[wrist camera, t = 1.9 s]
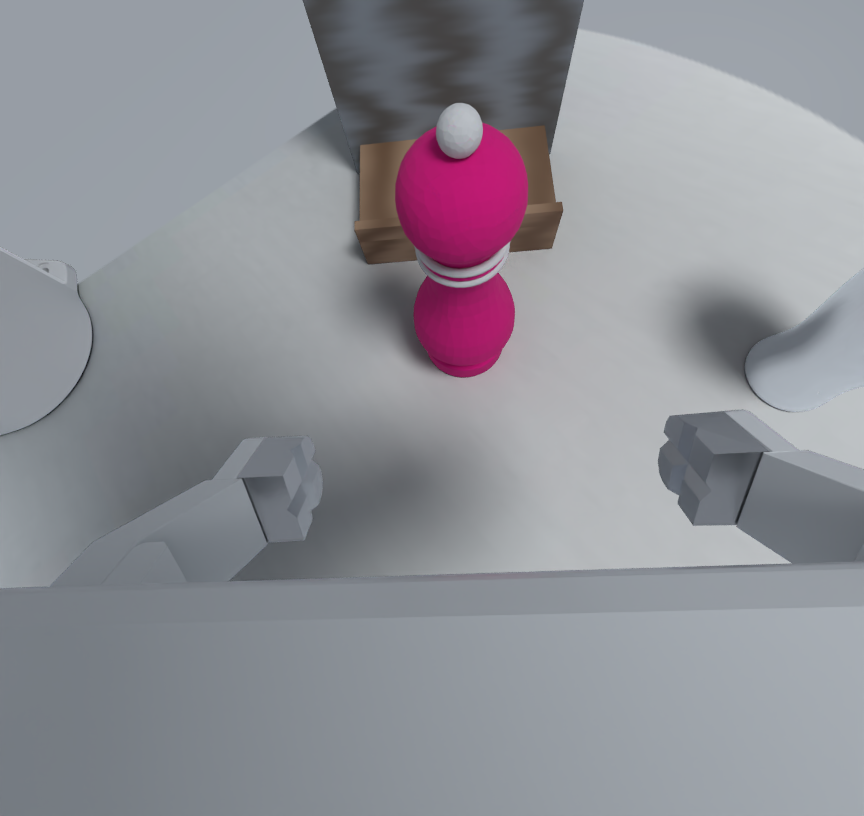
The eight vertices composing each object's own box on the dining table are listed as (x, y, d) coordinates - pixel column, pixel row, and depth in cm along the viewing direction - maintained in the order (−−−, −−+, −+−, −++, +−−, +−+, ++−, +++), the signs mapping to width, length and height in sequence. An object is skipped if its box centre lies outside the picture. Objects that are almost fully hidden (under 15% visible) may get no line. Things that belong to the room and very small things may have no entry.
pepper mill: (491, 291, 35) (519, 13, 16) (521, 367, 33) (595, 154, 14) (410, 317, 35) (339, 70, 16) (435, 395, 33) (389, 219, 14)
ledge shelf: (356, 265, 37) (58, -423, 10) (357, 163, 40) (130, -576, 13) (563, 247, 36) (853, -595, 9) (548, 143, 39) (730, -720, 12)
